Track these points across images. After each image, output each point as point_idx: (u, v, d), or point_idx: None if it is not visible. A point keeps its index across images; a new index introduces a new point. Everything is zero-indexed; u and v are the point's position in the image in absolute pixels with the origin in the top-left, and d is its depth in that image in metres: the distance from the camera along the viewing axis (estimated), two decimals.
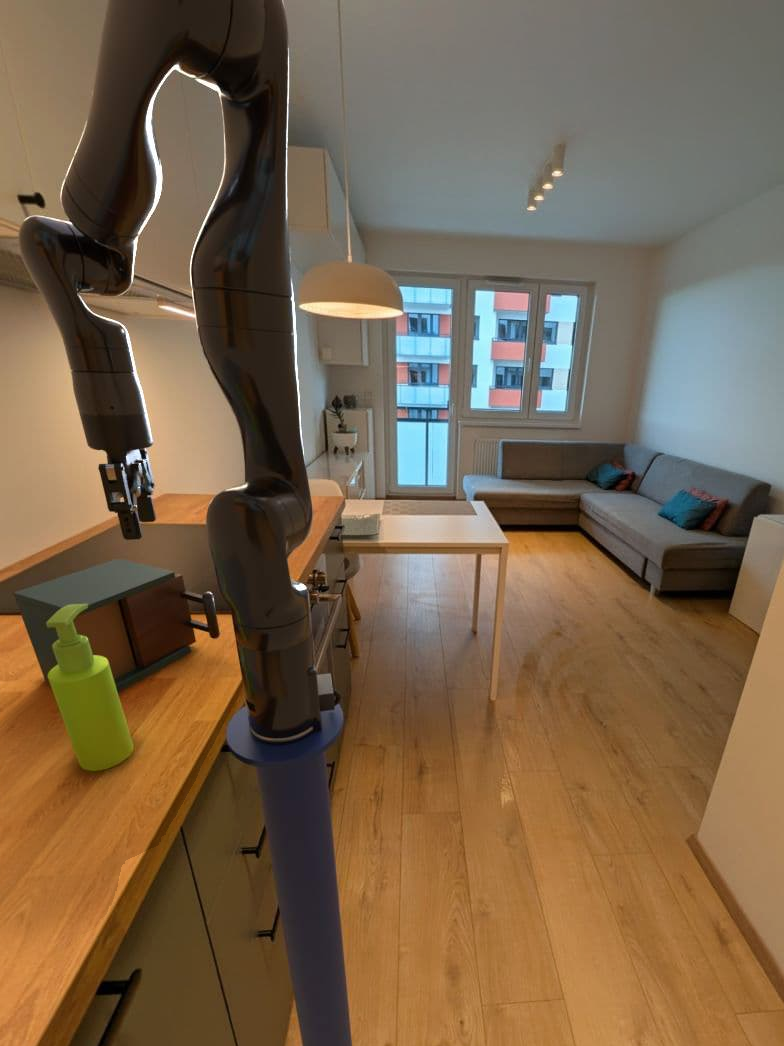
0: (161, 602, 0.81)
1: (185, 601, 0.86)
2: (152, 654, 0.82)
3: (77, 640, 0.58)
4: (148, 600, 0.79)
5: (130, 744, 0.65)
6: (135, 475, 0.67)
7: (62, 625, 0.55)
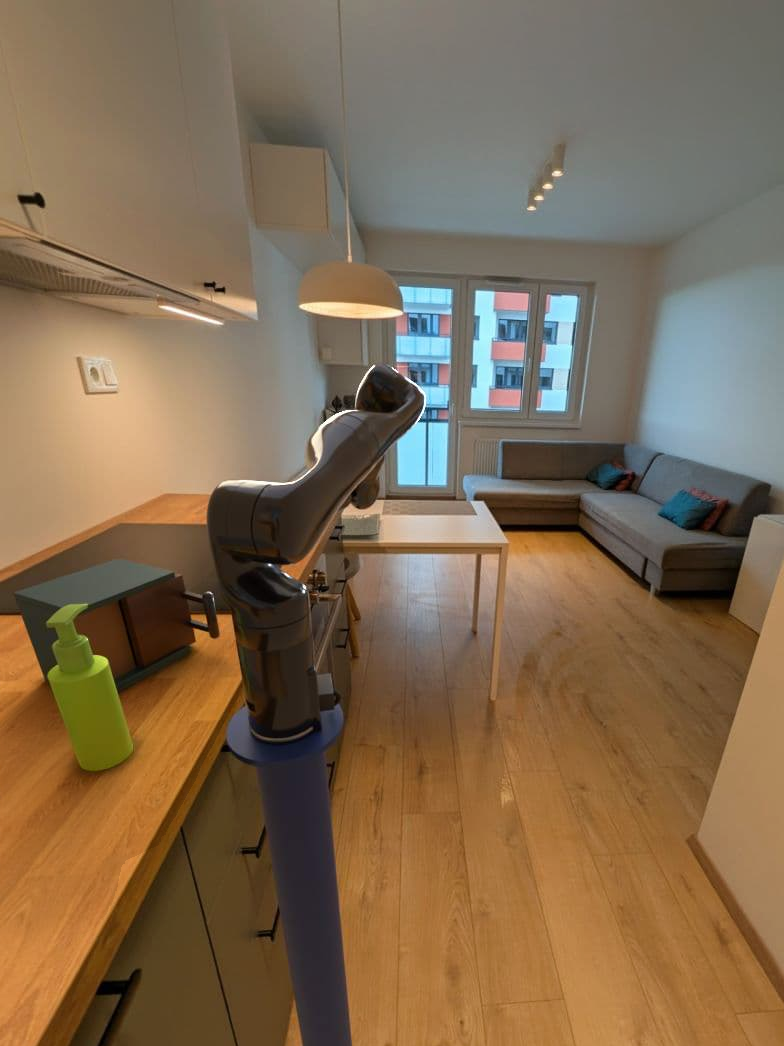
0: (161, 602, 0.81)
1: (185, 601, 0.86)
2: (152, 654, 0.82)
3: (77, 640, 0.58)
4: (148, 600, 0.79)
5: (130, 744, 0.65)
6: None
7: (62, 625, 0.55)
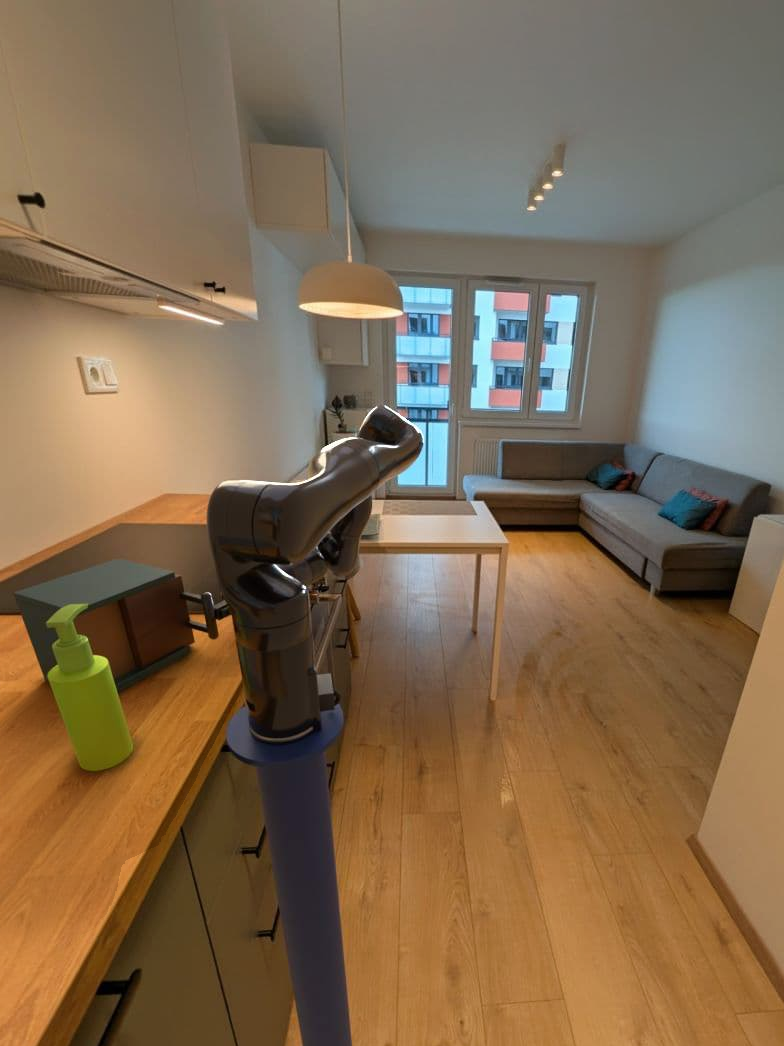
0: (160, 603, 0.81)
1: (184, 602, 0.85)
2: (151, 655, 0.81)
3: (77, 640, 0.58)
4: (147, 601, 0.79)
5: (130, 744, 0.65)
6: None
7: (62, 625, 0.55)
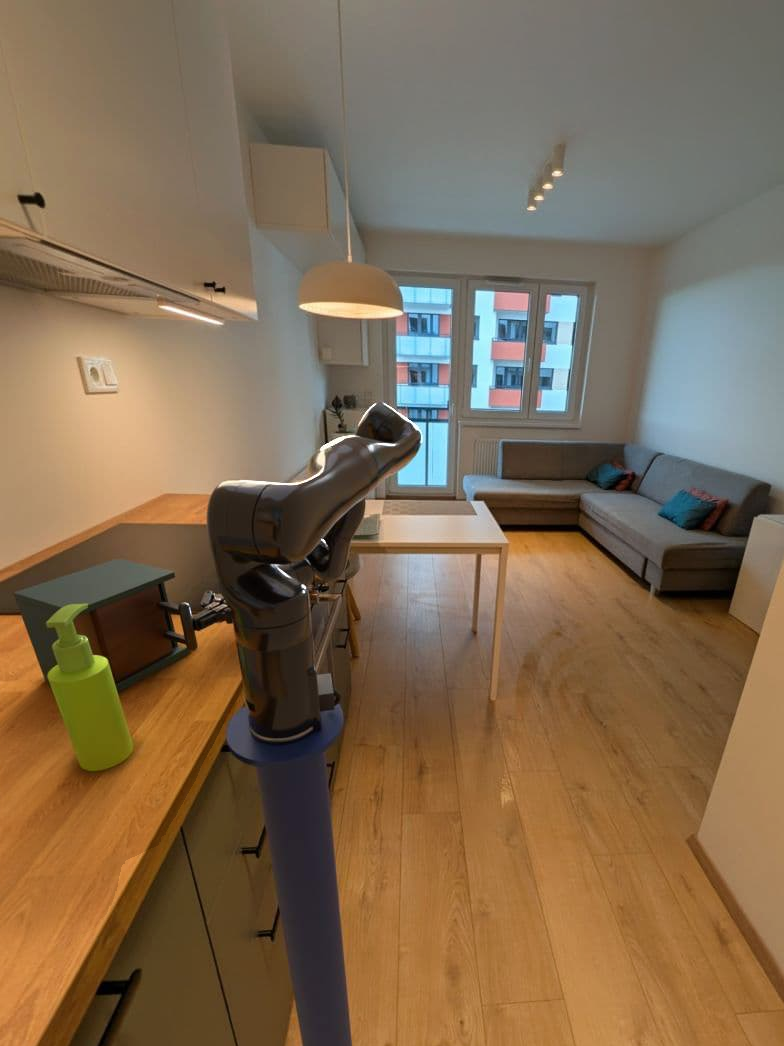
0: (135, 614, 0.77)
1: (161, 612, 0.82)
2: (125, 668, 0.78)
3: (77, 640, 0.58)
4: (120, 612, 0.75)
5: (130, 744, 0.65)
6: None
7: (62, 625, 0.55)
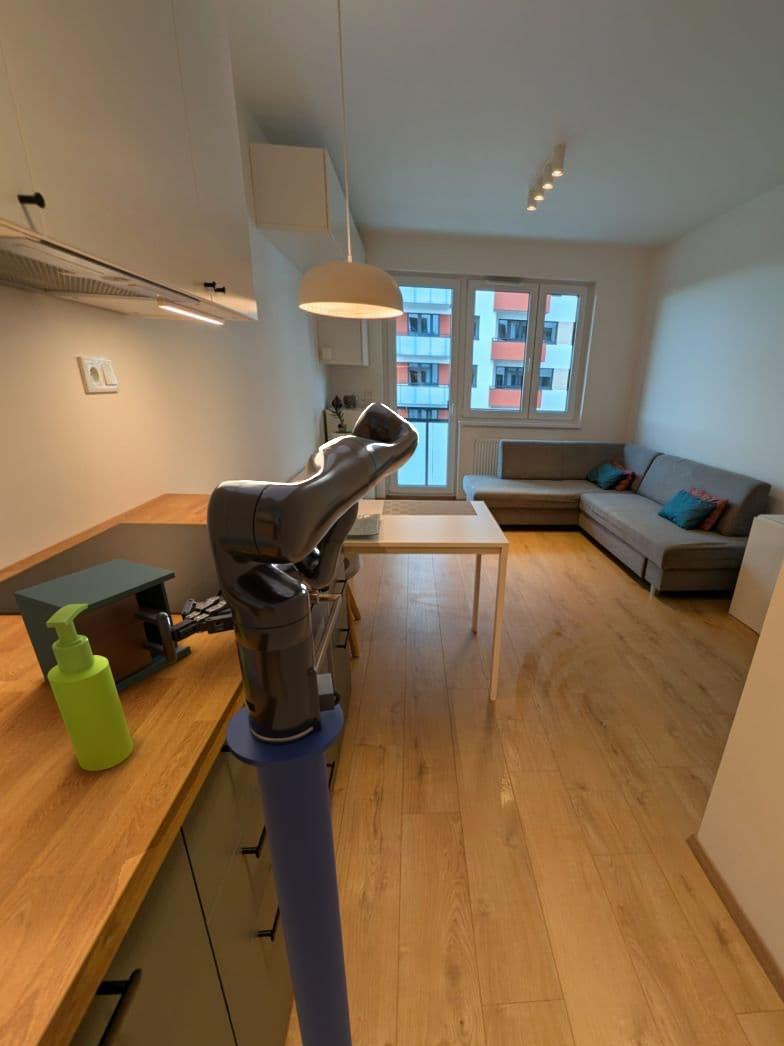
0: (110, 625, 0.74)
1: (139, 622, 0.78)
2: None
3: (77, 640, 0.58)
4: (94, 623, 0.72)
5: (130, 744, 0.65)
6: None
7: (62, 625, 0.55)
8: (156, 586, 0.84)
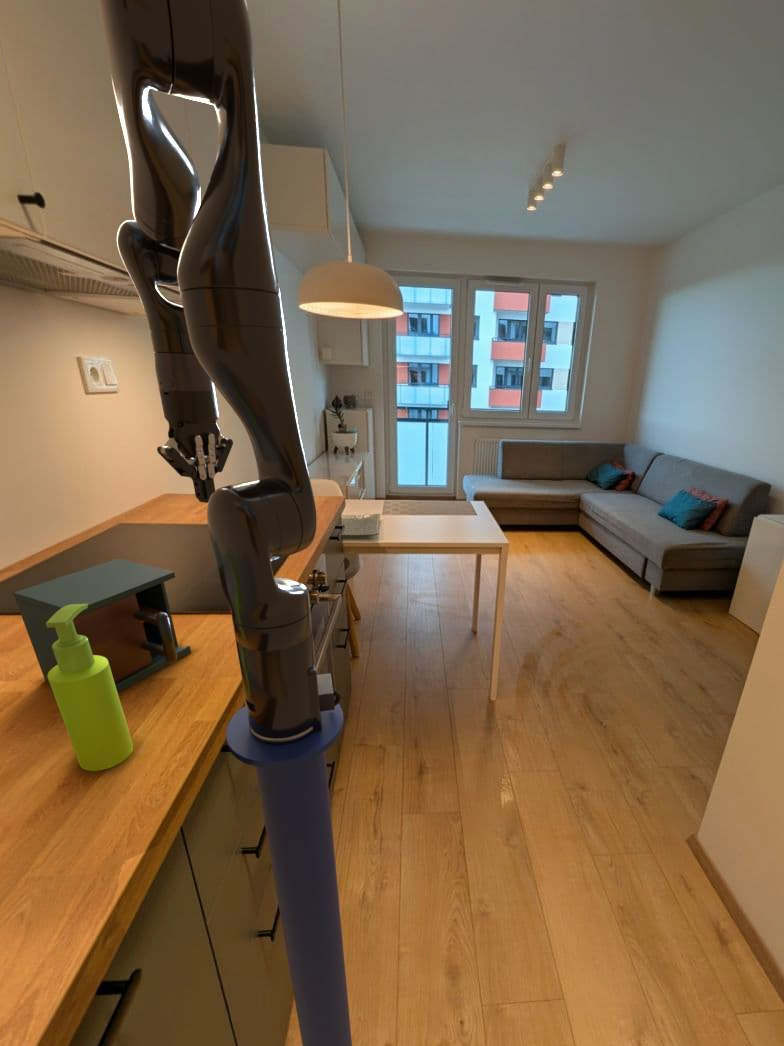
0: (110, 625, 0.74)
1: (139, 622, 0.78)
2: None
3: (77, 640, 0.58)
4: (94, 623, 0.72)
5: (130, 744, 0.65)
6: None
7: (62, 625, 0.55)
8: (156, 586, 0.84)
